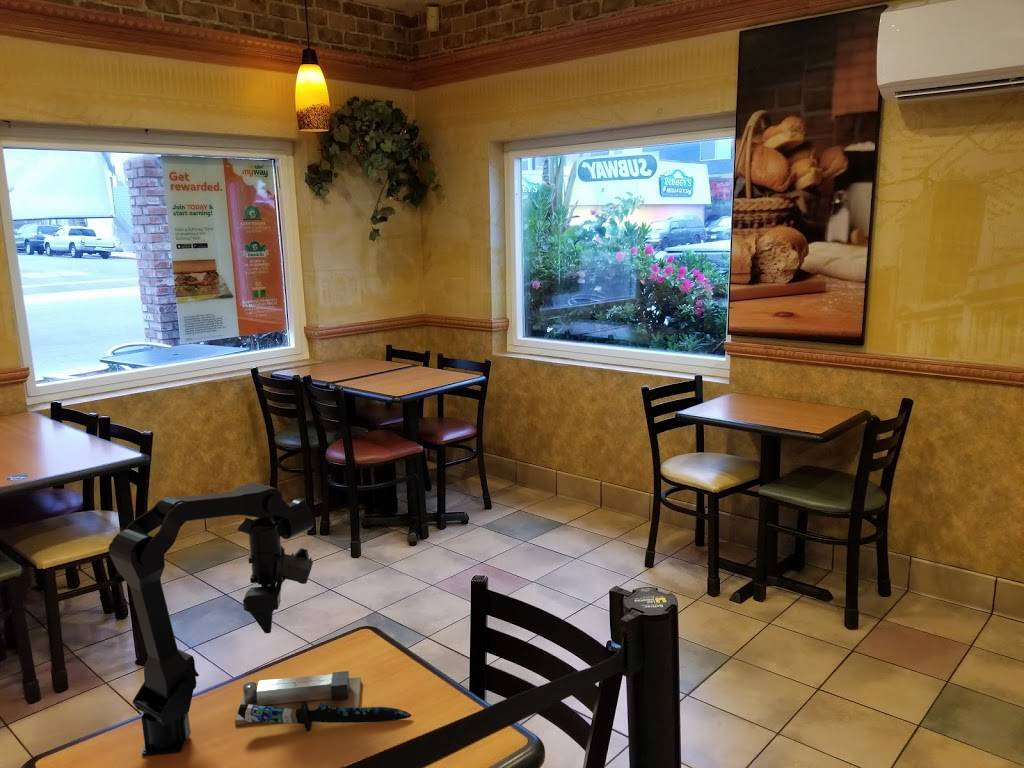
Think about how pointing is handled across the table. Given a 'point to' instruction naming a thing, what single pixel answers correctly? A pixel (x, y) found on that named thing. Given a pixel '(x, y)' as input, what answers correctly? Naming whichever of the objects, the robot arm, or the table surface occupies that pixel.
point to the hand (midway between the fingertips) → (271, 620)
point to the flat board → (316, 701)
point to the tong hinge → (250, 693)
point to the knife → (319, 714)
